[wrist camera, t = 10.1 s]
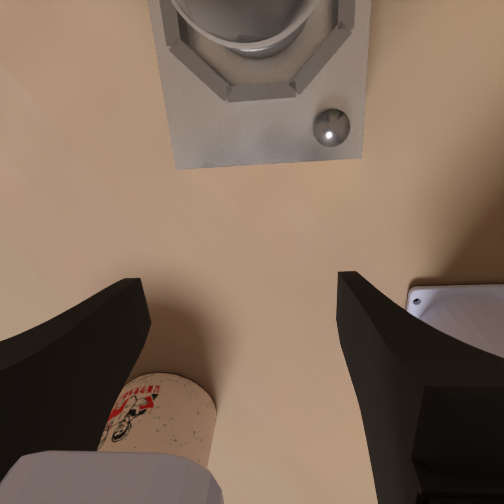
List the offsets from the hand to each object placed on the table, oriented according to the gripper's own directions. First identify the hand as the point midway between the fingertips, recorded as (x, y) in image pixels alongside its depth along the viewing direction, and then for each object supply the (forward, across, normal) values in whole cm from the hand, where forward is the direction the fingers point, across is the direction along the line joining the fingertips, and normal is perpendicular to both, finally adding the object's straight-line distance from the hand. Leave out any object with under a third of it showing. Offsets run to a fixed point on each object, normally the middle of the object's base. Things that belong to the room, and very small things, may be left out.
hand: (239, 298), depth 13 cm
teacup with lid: (+11, +10, +19) cm, 24 cm away
